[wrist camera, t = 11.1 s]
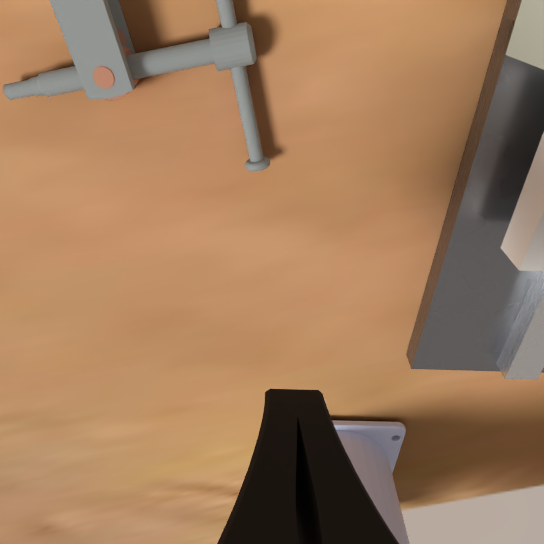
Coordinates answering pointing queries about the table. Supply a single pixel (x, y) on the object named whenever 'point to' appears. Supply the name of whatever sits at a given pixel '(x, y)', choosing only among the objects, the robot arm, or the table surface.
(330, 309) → the table surface
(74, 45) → the clamp
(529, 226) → the carriage
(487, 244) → the rail
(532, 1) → the end cabinet
